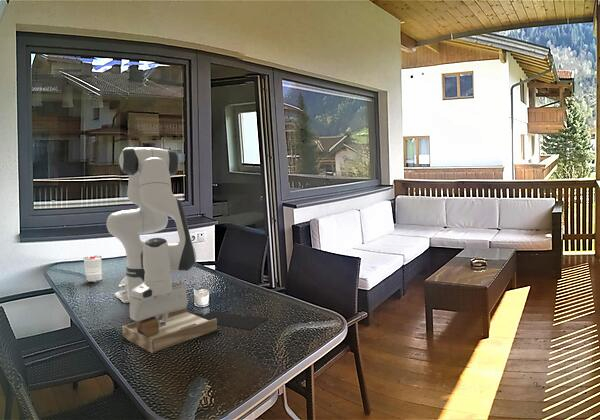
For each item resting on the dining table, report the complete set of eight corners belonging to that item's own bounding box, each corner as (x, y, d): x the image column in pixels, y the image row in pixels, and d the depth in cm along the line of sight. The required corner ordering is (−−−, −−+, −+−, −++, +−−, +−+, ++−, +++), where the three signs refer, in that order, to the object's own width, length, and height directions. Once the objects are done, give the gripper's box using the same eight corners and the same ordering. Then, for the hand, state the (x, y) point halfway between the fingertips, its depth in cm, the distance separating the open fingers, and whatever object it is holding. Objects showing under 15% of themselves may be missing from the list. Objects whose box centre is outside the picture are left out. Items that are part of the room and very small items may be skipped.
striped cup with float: (82, 280, 237) (80, 257, 235) (99, 277, 242) (97, 254, 241) (89, 284, 229) (87, 260, 228) (106, 280, 235) (104, 257, 233)
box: (122, 337, 161) (122, 326, 161) (186, 317, 179) (185, 307, 179) (151, 353, 148) (150, 340, 147) (217, 329, 166) (216, 318, 165)
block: (137, 334, 157) (136, 320, 156) (151, 329, 161) (149, 315, 160) (145, 338, 154) (143, 323, 153) (159, 332, 157) (157, 318, 156)
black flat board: (250, 329, 165) (182, 318, 178) (250, 331, 165) (183, 319, 178) (267, 318, 176) (203, 308, 189) (267, 319, 176) (203, 309, 189)
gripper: (180, 278, 168) (182, 315, 170) (125, 292, 154) (128, 332, 155) (190, 281, 164) (192, 319, 166) (135, 295, 149) (138, 337, 151)
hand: (161, 326), depth 161 cm, fingers closed
